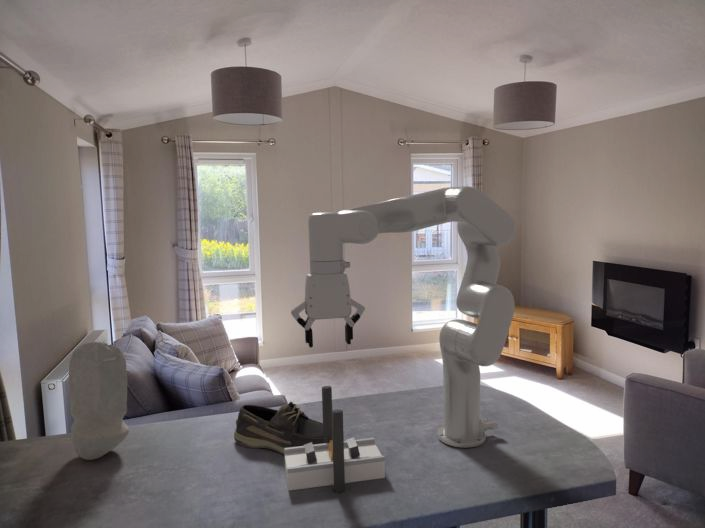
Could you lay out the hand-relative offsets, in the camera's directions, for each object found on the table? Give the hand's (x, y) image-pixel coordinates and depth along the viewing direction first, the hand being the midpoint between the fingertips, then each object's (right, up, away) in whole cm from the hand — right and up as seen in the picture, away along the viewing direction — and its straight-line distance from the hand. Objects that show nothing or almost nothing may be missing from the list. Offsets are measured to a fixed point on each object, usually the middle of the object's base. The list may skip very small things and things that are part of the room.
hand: (329, 344), depth 116 cm
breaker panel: (+1, -31, +4) cm, 31 cm away
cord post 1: (-1, -30, +11) cm, 32 cm away
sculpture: (-58, -31, +14) cm, 68 cm away
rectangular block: (+1, -27, +3) cm, 27 cm away
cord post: (+2, -32, -4) cm, 32 cm away
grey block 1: (-4, -27, +2) cm, 27 cm away
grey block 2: (+6, -26, +4) cm, 27 cm away
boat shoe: (-12, -30, +18) cm, 37 cm away
